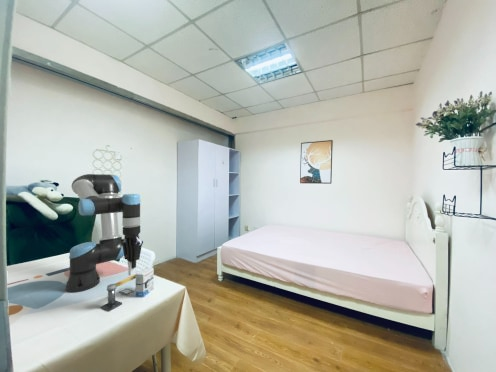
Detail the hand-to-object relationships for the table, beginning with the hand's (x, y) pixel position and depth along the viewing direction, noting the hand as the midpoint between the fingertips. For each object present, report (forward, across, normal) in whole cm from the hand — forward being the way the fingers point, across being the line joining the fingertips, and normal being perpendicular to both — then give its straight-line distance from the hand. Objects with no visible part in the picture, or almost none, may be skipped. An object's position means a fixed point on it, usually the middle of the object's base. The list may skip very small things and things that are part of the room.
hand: (132, 274), depth 100 cm
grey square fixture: (+14, +6, +6) cm, 16 cm away
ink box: (+14, +2, -9) cm, 17 cm away
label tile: (+14, +12, -5) cm, 19 cm away
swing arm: (+6, +6, -1) cm, 9 cm away
